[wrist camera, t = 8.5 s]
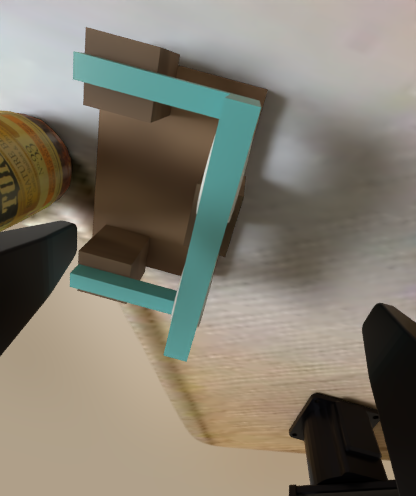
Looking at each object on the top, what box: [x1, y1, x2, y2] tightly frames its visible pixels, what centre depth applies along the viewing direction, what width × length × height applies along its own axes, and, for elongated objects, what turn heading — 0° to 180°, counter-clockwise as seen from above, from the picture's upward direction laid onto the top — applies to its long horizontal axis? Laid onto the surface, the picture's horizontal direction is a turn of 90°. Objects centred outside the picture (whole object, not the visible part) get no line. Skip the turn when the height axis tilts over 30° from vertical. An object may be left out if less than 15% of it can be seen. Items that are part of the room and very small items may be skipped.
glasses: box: [70, 52, 261, 362], centre depth 14 cm, size 12×8×4 cm, turn 167°
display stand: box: [78, 27, 268, 304], centre depth 18 cm, size 14×9×5 cm, turn 167°
